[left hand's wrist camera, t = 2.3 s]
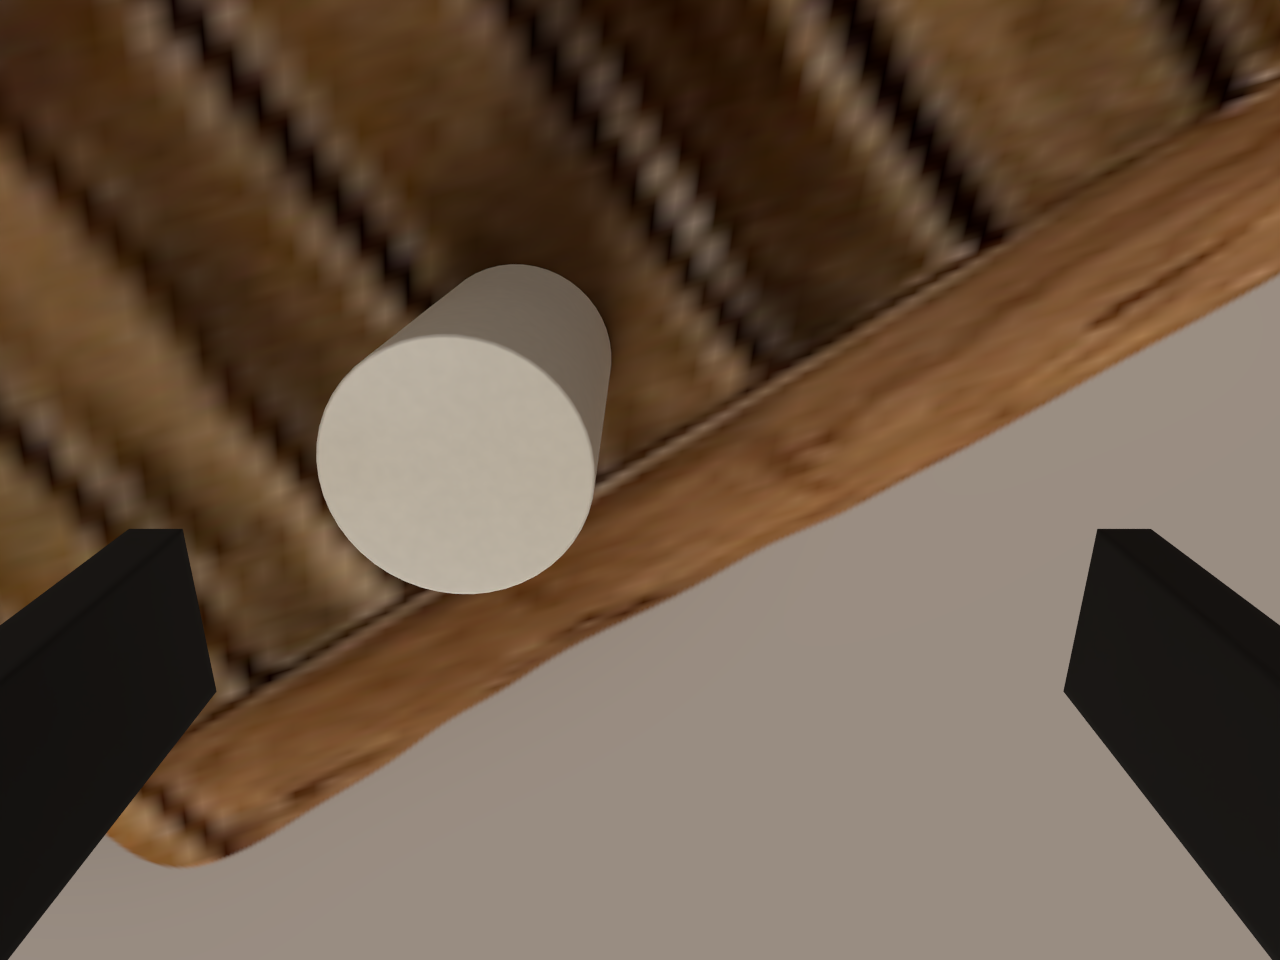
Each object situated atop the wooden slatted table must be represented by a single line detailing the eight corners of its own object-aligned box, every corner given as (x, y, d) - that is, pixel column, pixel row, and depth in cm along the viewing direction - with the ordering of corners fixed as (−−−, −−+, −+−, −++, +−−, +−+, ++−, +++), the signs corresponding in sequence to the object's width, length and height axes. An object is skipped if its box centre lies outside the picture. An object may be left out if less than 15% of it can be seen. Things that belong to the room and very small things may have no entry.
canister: (430, 435, 32) (322, 585, 21) (428, 256, 30) (307, 322, 19) (605, 449, 33) (586, 604, 22) (617, 272, 30) (604, 346, 19)
